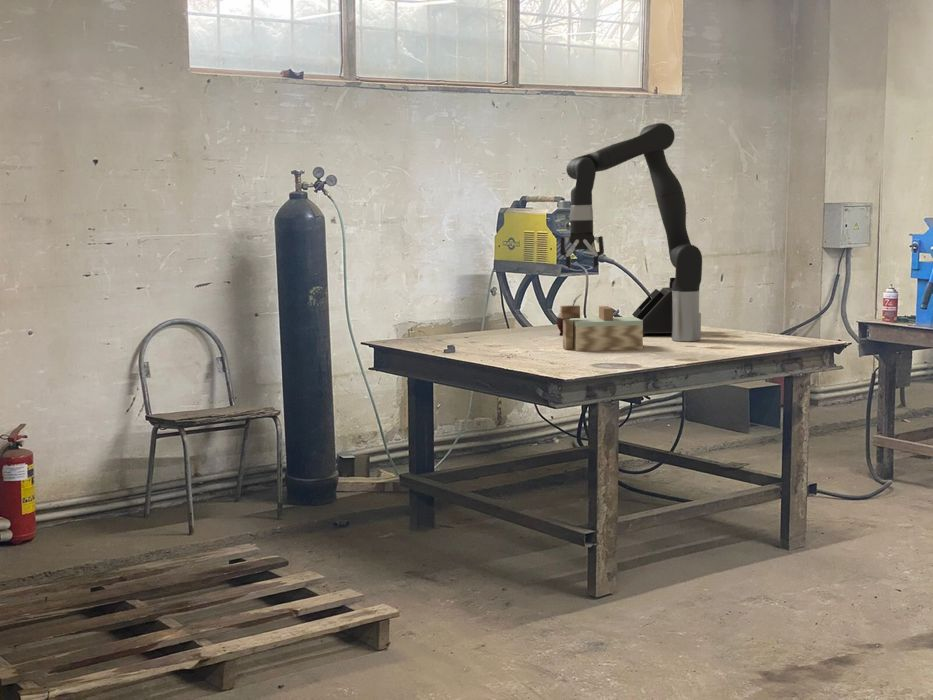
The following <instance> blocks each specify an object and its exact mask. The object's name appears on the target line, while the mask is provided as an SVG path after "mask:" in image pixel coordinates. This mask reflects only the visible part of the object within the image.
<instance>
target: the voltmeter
mask: <svg viewBox="0 0 933 700" xmlns="http://www.w3.org/2000/svg"><path fill="white" fill-rule="evenodd" d="M674 280H675V277H670V278H669V282H668V283H669V285H668V286H669V287H662V288H661V289H660V290H658V289H657V288H655V289H654V290H653V291H652V292H651V293H650V294H649V295H648V296H647V297H646V299H644V301H643V302H641V304H640V305H639V306H638V307H637V308H636V309H635V311H634V312H633V313H632V314H631V315H632V317H636V318H638V319H640V320H643V337H645V336H646V334H664V333H665V334H670V333H671V334H672V291H673V290H672V284H673V282H674ZM650 296H651V297H652V299H651V298H650Z"/></svg>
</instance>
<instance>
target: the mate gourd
mask: <svg viewBox="0 0 933 700" xmlns="http://www.w3.org/2000/svg"><path fill="white" fill-rule="evenodd" d="M581 296H582V293H580V294H578V296H576V297H575V299H573V301H572V302H573V303H572V305H576V304H575V303H576V302H577V299H579V298H580V297H581ZM563 320H570V319H562V318H561V315H560V312H558V314H557V316H556V325H557V328H558V330H559V336H560V337H563Z"/></svg>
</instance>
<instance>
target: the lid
mask: <svg viewBox="0 0 933 700" xmlns="http://www.w3.org/2000/svg"><path fill="white" fill-rule="evenodd" d="M570 320H572V321H573V325H574V326H576V327H592V326H629V325H643V320H640V319H638V318H636V317H634V316H614V308H612V307H610V306H609V305H607V306H605V305H604V306H603V305H601V306H598V317H580V318H572V319H570Z"/></svg>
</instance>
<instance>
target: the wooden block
mask: <svg viewBox="0 0 933 700" xmlns="http://www.w3.org/2000/svg"><path fill="white" fill-rule="evenodd" d="M580 306H581V305H577V304H574V305H573V304H572V305H560V309H559V310H560V312H559V313H560V315H561V318H562V319H572V318H581V307H580Z"/></svg>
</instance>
